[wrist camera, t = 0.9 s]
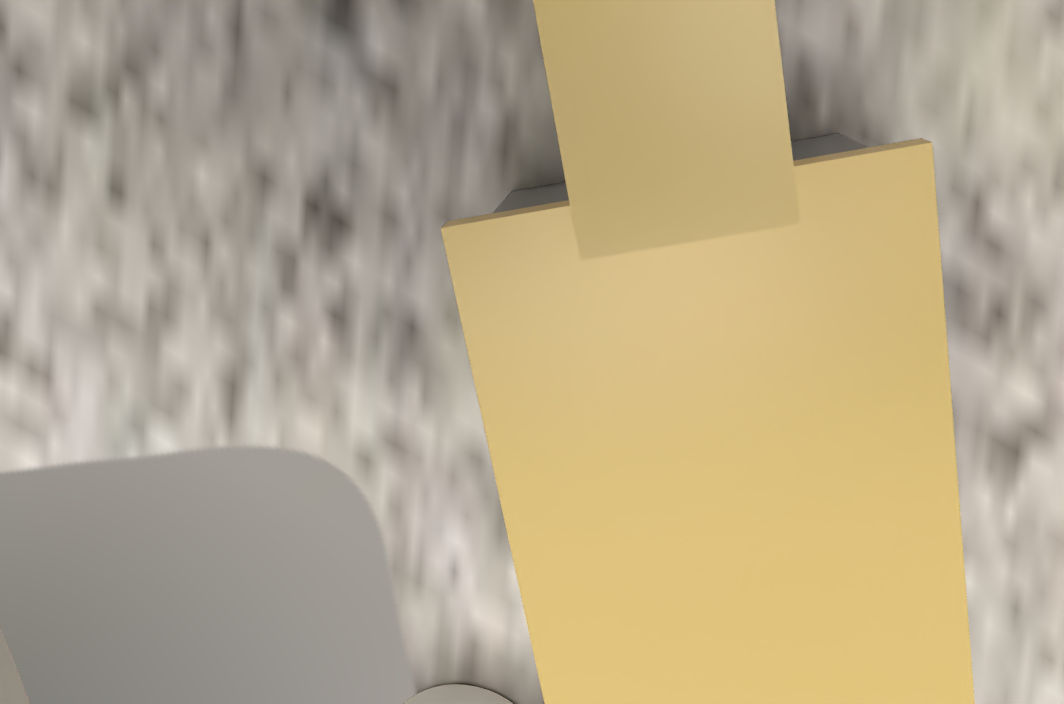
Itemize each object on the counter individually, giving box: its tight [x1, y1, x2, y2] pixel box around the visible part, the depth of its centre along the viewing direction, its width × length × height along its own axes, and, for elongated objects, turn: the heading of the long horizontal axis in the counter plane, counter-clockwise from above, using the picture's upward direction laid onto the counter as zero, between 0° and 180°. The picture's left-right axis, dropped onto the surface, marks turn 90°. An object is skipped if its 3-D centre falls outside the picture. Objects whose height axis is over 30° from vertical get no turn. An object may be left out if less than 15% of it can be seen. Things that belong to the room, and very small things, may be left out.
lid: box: [441, 0, 975, 704], centre depth 23 cm, size 21×12×8 cm, turn 11°
